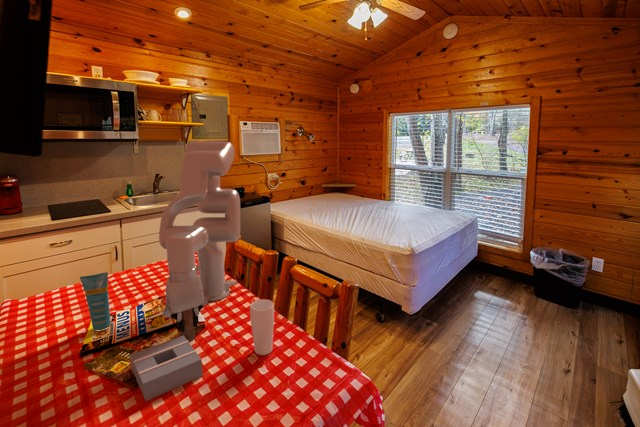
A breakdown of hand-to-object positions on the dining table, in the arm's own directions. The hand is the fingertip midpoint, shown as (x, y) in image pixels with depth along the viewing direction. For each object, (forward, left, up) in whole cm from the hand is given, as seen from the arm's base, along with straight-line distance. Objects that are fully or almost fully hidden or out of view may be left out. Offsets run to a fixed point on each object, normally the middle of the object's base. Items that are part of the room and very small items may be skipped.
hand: (188, 327), depth 105 cm
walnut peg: (0, 0, -4) cm, 4 cm away
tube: (+20, -24, -4) cm, 31 cm away
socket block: (+10, +12, -4) cm, 16 cm away
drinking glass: (-15, +20, -4) cm, 25 cm away
